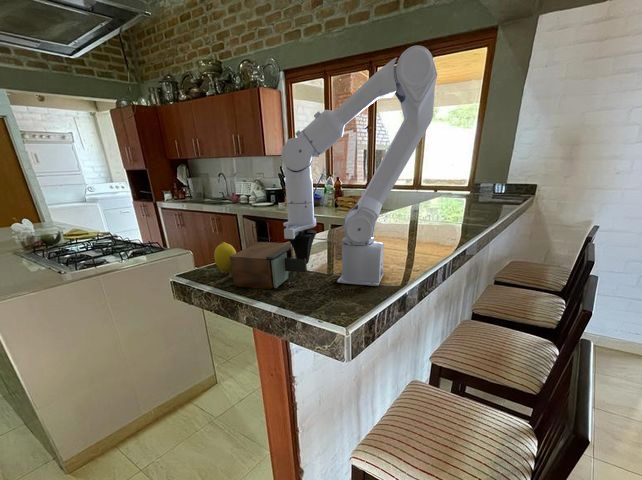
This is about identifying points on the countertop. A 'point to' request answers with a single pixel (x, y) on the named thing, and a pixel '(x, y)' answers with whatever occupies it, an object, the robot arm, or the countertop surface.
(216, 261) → the lemon
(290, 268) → the sliding door
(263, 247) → the cabinet
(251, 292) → the countertop surface
